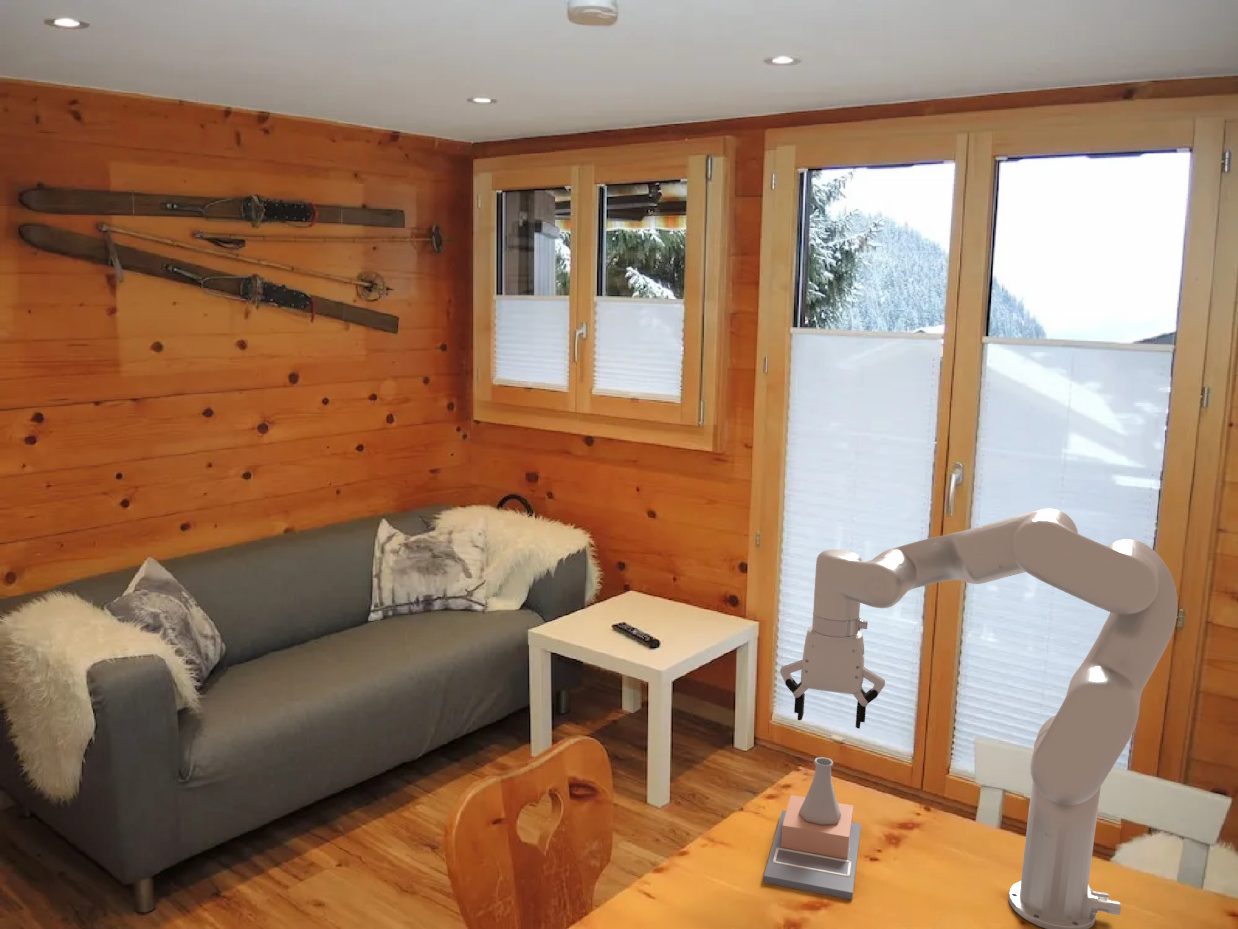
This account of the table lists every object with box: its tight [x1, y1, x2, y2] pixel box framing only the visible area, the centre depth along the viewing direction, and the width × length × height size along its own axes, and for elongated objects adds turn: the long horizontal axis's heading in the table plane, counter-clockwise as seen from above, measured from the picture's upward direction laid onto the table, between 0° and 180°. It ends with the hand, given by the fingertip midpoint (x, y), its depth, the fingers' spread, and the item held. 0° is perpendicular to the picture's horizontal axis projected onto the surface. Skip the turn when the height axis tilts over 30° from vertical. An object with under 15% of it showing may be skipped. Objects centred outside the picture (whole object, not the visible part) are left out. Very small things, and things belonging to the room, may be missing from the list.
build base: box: [763, 794, 862, 900], centre depth 172 cm, size 14×22×5 cm, turn 163°
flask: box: [799, 756, 841, 825], centre depth 174 cm, size 7×7×10 cm
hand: (829, 721), depth 172 cm, fingers open, 9 cm apart
